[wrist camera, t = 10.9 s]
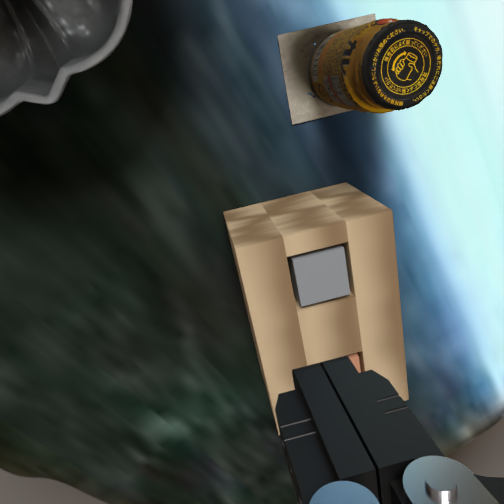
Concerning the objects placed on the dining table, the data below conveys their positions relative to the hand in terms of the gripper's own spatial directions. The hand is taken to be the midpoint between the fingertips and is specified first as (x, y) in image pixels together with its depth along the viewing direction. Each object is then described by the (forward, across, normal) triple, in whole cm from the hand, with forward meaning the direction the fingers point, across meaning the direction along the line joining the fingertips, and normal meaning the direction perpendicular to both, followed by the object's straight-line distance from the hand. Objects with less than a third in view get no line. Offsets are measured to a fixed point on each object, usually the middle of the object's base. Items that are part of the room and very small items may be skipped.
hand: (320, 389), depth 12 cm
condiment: (+31, -12, -7) cm, 33 cm away
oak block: (+31, -6, +12) cm, 33 cm away
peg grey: (+29, -6, +7) cm, 30 cm away
